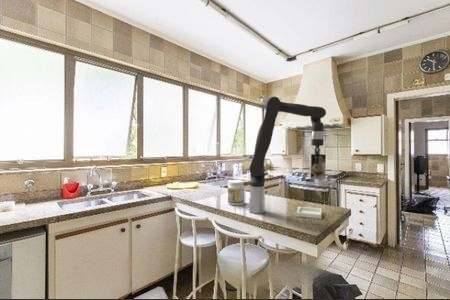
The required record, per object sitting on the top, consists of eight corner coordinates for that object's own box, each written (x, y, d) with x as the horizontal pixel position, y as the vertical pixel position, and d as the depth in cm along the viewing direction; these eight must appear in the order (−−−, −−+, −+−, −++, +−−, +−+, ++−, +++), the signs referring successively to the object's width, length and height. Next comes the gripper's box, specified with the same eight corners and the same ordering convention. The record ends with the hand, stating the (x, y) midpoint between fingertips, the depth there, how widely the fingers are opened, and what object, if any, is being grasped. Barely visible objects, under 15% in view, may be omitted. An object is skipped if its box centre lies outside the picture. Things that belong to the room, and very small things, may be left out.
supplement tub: (224, 203, 176) (224, 181, 176) (235, 200, 185) (235, 179, 184) (236, 207, 168) (236, 183, 167) (247, 203, 176) (247, 181, 176)
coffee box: (310, 179, 153) (311, 154, 153) (308, 177, 160) (308, 153, 159) (325, 179, 152) (326, 154, 151) (322, 178, 159) (323, 153, 158)
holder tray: (296, 216, 144) (296, 212, 144) (298, 210, 157) (298, 206, 157) (321, 219, 139) (321, 214, 139) (321, 212, 152) (321, 208, 152)
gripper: (311, 138, 163) (311, 162, 163) (311, 138, 149) (310, 164, 150) (323, 138, 160) (323, 162, 161) (323, 138, 147) (323, 164, 147)
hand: (317, 163), depth 155 cm, fingers closed on coffee box, 7 cm apart
